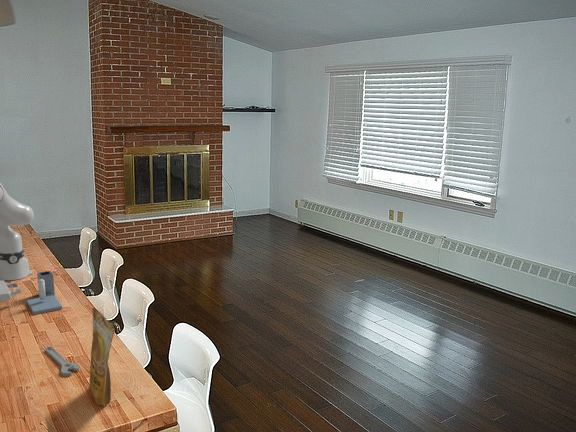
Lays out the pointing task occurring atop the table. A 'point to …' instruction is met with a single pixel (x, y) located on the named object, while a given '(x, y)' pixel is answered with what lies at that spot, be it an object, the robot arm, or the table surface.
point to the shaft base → (43, 301)
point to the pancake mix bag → (100, 359)
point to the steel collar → (47, 282)
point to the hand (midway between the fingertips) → (18, 287)
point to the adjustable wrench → (62, 362)
